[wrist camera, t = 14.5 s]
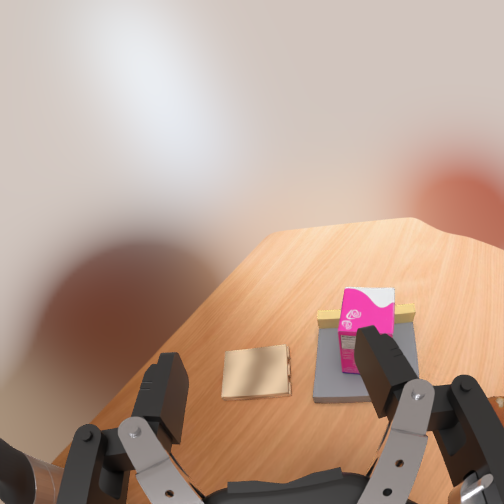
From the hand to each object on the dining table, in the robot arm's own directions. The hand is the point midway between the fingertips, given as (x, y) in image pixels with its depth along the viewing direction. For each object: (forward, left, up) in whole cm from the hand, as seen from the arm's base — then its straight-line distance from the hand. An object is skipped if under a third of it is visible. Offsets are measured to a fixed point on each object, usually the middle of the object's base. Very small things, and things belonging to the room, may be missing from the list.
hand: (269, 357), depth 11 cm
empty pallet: (-10, +9, -27) cm, 31 cm away
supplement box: (+6, +11, -24) cm, 27 cm away
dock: (+6, +11, -27) cm, 30 cm away
